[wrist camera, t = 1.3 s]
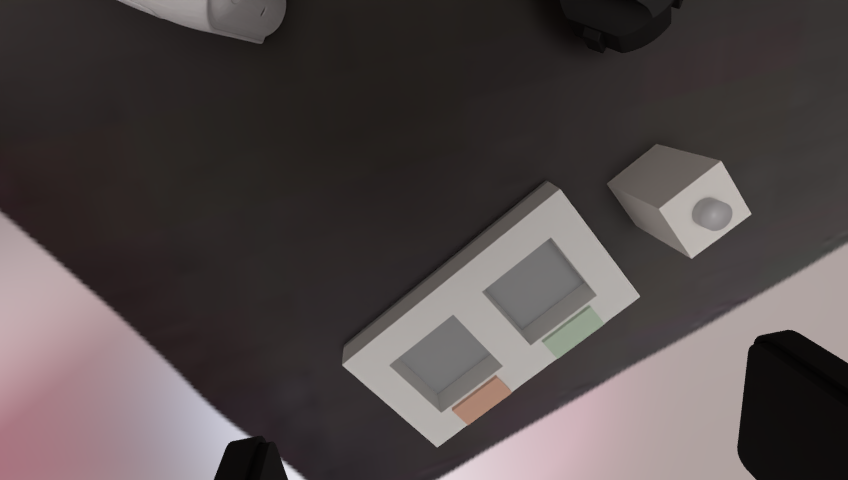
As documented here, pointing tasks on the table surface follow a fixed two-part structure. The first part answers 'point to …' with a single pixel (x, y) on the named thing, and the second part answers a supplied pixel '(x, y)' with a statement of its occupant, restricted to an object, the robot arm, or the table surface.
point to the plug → (680, 198)
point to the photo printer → (220, 15)
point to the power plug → (618, 22)
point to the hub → (490, 316)
